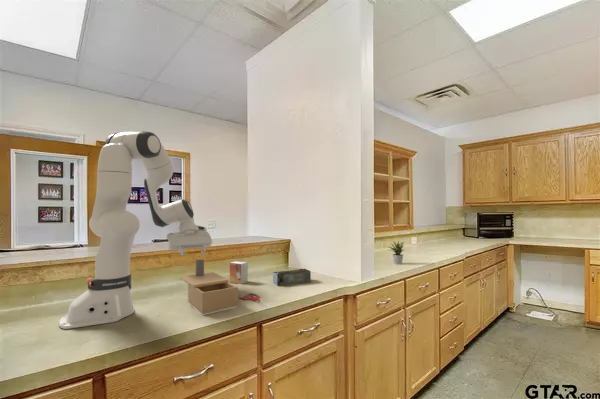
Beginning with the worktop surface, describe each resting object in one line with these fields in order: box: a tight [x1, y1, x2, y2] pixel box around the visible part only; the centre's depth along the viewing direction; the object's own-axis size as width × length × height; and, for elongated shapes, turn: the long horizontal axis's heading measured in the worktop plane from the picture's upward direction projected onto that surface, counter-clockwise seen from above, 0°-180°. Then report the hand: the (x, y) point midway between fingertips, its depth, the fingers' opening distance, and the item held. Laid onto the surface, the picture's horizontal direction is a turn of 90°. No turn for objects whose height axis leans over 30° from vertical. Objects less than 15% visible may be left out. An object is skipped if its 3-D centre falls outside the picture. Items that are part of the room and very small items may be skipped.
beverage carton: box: [272, 268, 312, 287], centre depth 156 cm, size 8×19×7 cm, turn 113°
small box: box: [228, 260, 249, 285], centre depth 157 cm, size 8×6×10 cm
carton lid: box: [180, 258, 230, 288], centre depth 128 cm, size 15×19×8 cm
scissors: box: [240, 292, 267, 307], centre depth 125 cm, size 8×21×2 cm, turn 45°
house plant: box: [388, 240, 405, 265], centre depth 208 cm, size 14×14×16 cm
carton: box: [187, 282, 239, 316], centre depth 120 cm, size 14×18×8 cm
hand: (193, 254), depth 141 cm, fingers open, 8 cm apart
